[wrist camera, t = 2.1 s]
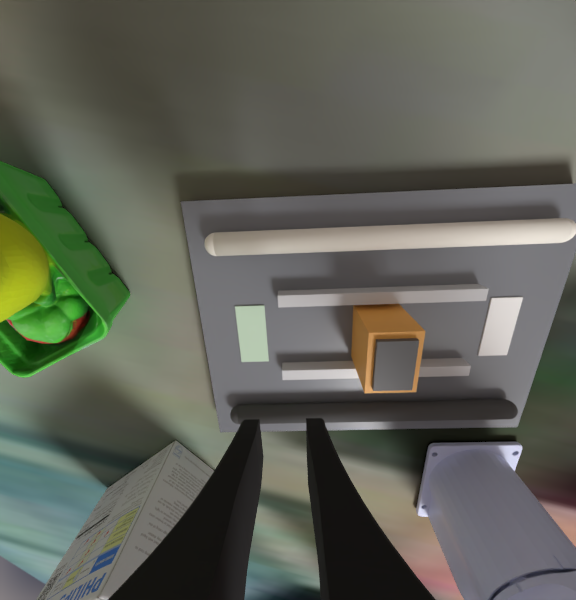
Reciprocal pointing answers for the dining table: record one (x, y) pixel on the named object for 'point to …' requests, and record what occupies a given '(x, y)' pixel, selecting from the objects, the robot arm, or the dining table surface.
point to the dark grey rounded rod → (377, 411)
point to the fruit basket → (48, 278)
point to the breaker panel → (377, 300)
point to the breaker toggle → (386, 348)
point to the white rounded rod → (391, 237)
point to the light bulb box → (128, 525)
